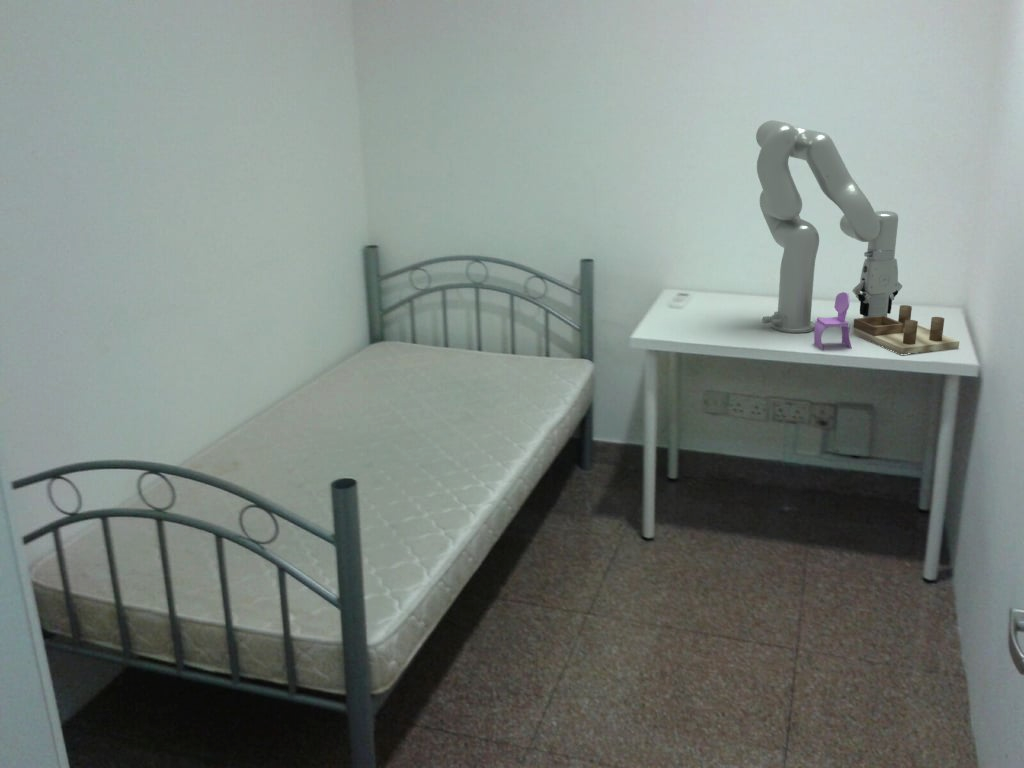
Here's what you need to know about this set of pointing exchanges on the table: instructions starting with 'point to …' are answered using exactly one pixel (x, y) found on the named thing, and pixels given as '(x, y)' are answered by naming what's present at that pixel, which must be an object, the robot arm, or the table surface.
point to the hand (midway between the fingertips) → (875, 313)
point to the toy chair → (835, 321)
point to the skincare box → (878, 305)
